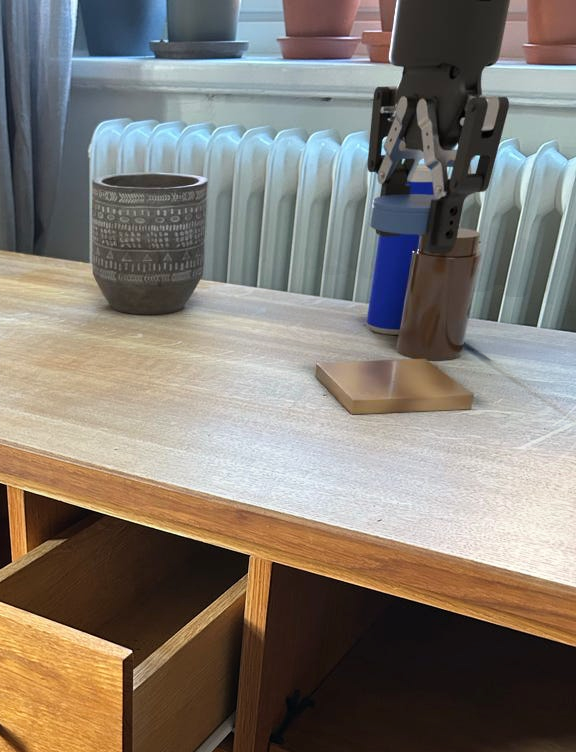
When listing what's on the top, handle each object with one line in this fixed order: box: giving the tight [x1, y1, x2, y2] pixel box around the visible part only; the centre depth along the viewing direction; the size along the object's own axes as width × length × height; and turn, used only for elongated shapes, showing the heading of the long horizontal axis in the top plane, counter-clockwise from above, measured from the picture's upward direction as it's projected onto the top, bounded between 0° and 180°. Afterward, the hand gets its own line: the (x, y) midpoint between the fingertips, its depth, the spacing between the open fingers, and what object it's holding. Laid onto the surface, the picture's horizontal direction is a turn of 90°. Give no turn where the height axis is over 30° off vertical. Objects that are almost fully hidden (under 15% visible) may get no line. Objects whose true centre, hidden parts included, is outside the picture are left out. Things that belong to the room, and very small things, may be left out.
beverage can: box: [366, 163, 434, 336], centre depth 93 cm, size 5×5×15 cm
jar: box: [395, 227, 482, 361], centre depth 88 cm, size 6×6×11 cm
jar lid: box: [369, 194, 436, 234], centre depth 74 cm, size 6×6×2 cm
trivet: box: [314, 358, 475, 415], centre depth 81 cm, size 10×10×1 cm
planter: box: [91, 171, 209, 316], centre depth 103 cm, size 12×12×13 cm
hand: (412, 242), depth 75 cm, fingers closed on jar lid, 6 cm apart
